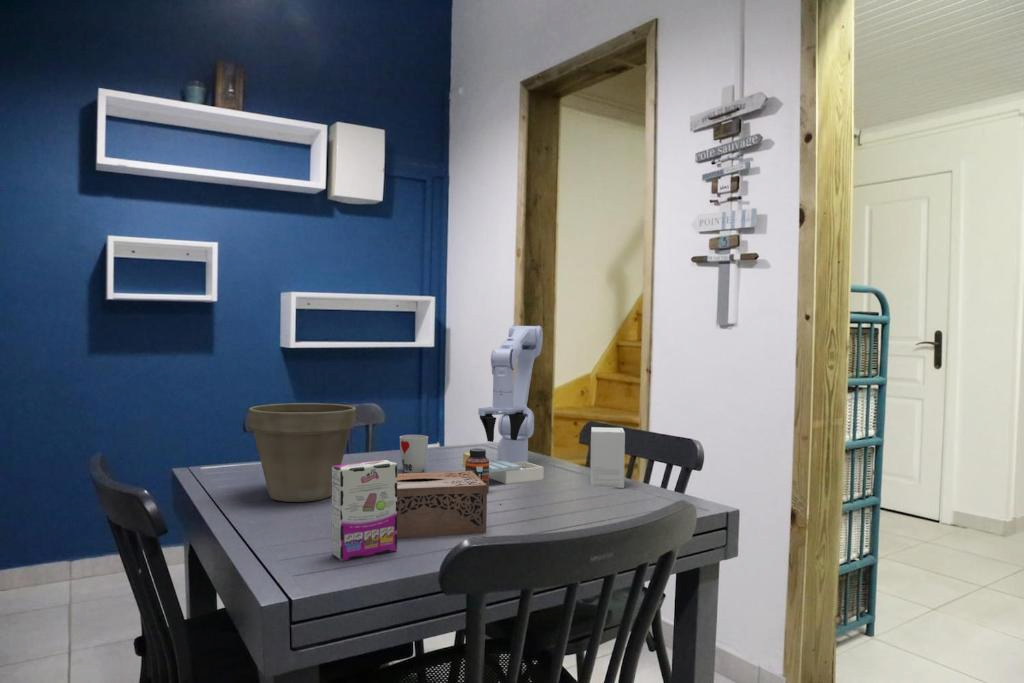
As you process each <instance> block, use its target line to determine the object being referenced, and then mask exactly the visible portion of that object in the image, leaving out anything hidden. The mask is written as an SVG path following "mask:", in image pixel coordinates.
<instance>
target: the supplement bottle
mask: <svg viewBox="0 0 1024 683" xmlns="http://www.w3.org/2000/svg"><path fill="white" fill-rule="evenodd" d="M469 453H470V457H468V458H467V459H466V467H465V468H464V469H465V470H464V471H472V472H473V473H475V474H476V475H477V476H478V477H479V478H480V479H481V480H482V481H483V482H484V483H485V484H486V485H487V494H489V490H490V489H489V488H490V487H489V486H490V478H489V461H490V459H489V458H488V457H487V456H486V455H487V450H486V449H485V448H478V447H477V448H470V449H469Z"/></svg>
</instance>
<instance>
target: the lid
mask: <svg viewBox="0 0 1024 683" xmlns="http://www.w3.org/2000/svg"><path fill="white" fill-rule="evenodd" d="M468 457H470V452H466V453H464V452H463V453H462V463H461V467H462V468H463V469H465V467H466V459H467V458H468ZM517 469H521V466H519V465H516V464H513V463H510V462H506V461H503V460H498V459H497V460H494V459H491V460H489V472H498V471H507V470H517Z"/></svg>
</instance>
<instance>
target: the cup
mask: <svg viewBox="0 0 1024 683" xmlns="http://www.w3.org/2000/svg"><path fill="white" fill-rule="evenodd" d="M428 444H429V436H428V435H423V434H404V435H400V436H399V451H400V452H399V453H400V458H401V459H400V460H401V464H402V468H403V471H404V473H406V472H407V473H423V470H424V467H425V464H426V459H427V453H428Z"/></svg>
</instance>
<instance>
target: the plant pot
mask: <svg viewBox="0 0 1024 683" xmlns="http://www.w3.org/2000/svg"><path fill="white" fill-rule="evenodd" d="M356 411H357V408H356V407H355V406H353V405H348V404H339V403H323V402H322V403H320V402H293V403H292V402H291V403H270V404H262V405H256V406H252V407H251V406H250V408H248V421H249V422H248V423H249V429H251V431H253V433H254V438H255V444H256V448H257V452H258V456H259V459H260V463H261V464H260V465H261V468H262V472H263V476H264V479H265V480H264V481H265V484H266V488H267V491H268V492H267V493H268V495H269V497H270V498H271V500H272V499H273V500H275V501H279V502H284V503H285V502H288V503H304V502H314V501H315V502H316V501H319V500H324V498H325V499H328V498H329V497H332V466H336V465H342V462H343V459H344V455H345V452H346V448H347V445H348V441H349V437H350V433H351V429H353V428H354V427H355V424H356V415H357V414H356V413H357V412H356Z"/></svg>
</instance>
